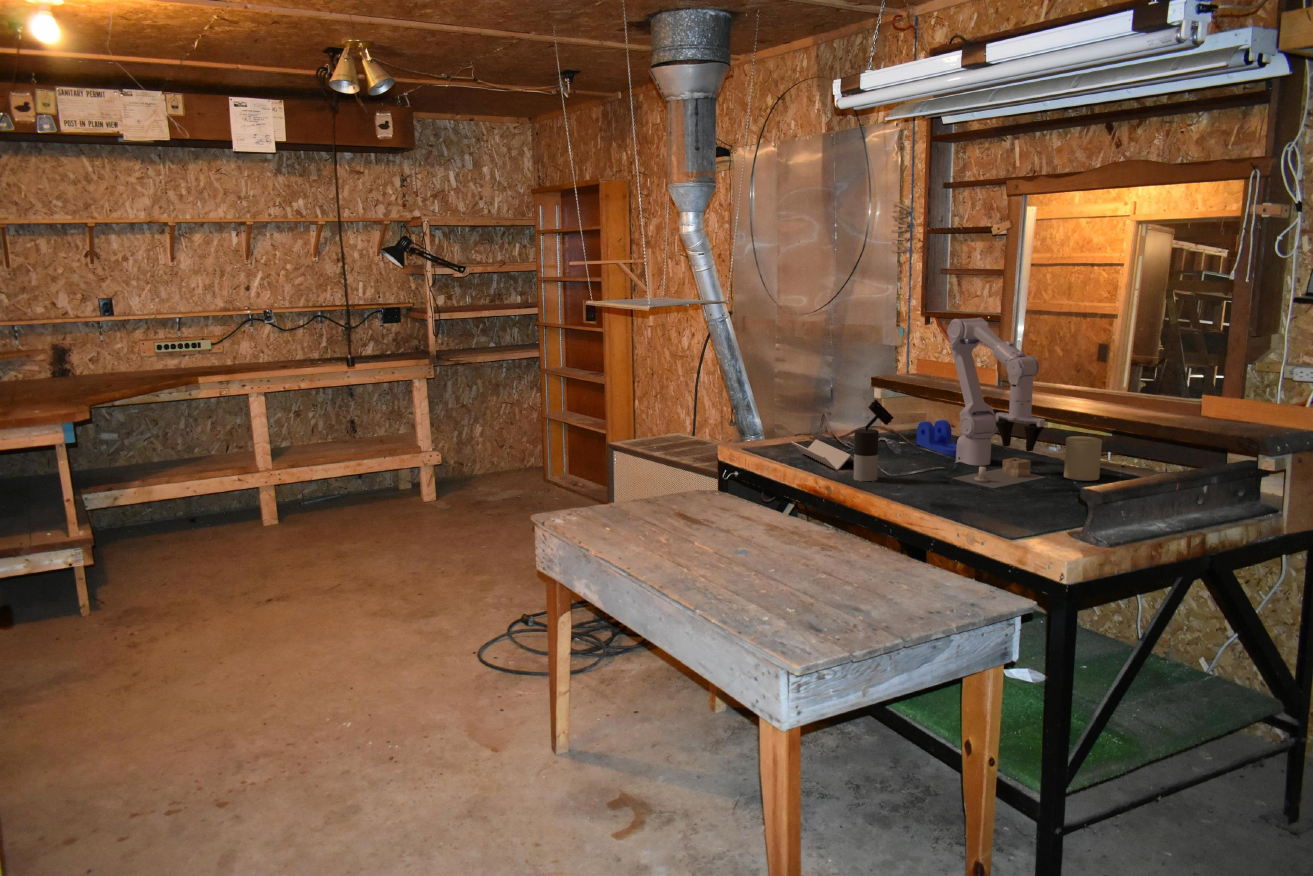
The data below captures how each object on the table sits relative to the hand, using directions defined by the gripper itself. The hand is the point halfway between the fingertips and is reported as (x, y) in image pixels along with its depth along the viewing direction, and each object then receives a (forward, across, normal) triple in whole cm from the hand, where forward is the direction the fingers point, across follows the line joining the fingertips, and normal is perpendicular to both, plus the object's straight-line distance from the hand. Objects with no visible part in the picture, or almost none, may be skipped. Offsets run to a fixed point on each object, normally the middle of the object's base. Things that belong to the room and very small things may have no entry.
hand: (1017, 448), depth 257 cm
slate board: (+8, 0, -7) cm, 11 cm away
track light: (+9, -22, -33) cm, 41 cm away
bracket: (+9, -37, +12) cm, 40 cm away
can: (+9, +12, +12) cm, 19 cm away
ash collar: (+7, 0, 0) cm, 7 cm away
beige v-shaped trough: (+9, -47, -28) cm, 56 cm away
